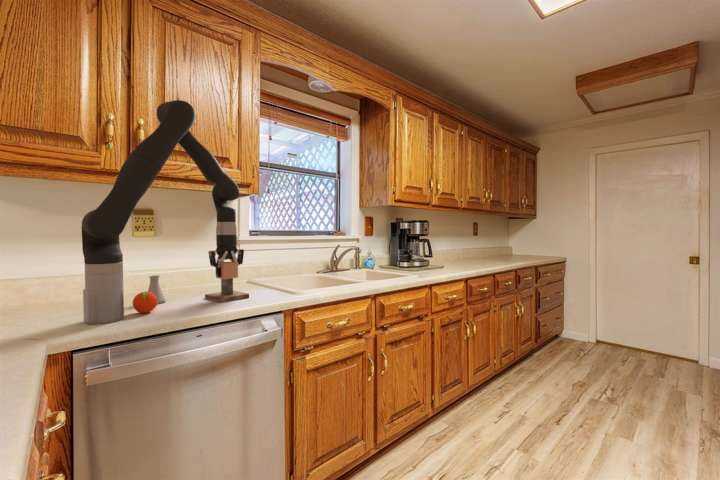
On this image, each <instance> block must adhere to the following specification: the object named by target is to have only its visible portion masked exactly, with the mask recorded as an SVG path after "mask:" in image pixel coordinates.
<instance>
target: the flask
mask: <svg viewBox="0 0 720 480" xmlns="http://www.w3.org/2000/svg"><path fill="white" fill-rule="evenodd" d="M147 292H151V293H153V294H154V295H155V296H156V297H157V305H159V304H162V303H166V302H167V299H166V297H165V295H164V292H163V290H162V287H161V285H160V275H157V274H156V275H149V286H148V290H147Z"/></svg>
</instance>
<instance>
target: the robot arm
mask: <svg viewBox="0 0 720 480" xmlns="http://www.w3.org/2000/svg"><path fill="white" fill-rule="evenodd" d="M156 118H157V120H158V122H159V125H158V126H157V128H156V129H154V131H153V132H152V133H151V134H150V135H148V136H147V137H146V138H145V139H143V140H142V141H141V142H140V143H139V144H138V145H136V146H135V148H134V149H133V150H132V151H131V152H130V154H129V155H128V157H127V158H126V159H125V160H124V162H123V164H122V165H121V168H120V169H119V172H118V174H117V177H116V179H115V181H114V184H113V187H112V189H111V191H110V192H109V193H108V194H107V196H106V197H105V198H104V200H103V201H102V202H101V203H100V204H99V205H98V207H96V208H95V209H93V210H89V212H87V213H86V214H85V215H84V216H83V218H82V221H81V244H82V248H81V249H82V254H83V259H84V261H83V262H84V289H82V295H83V296H82V297H83V298H82V299H83V300H82V301H83V322H84V323H86V324H88V325H98V324H99V325H100V324H109V323H114V322H119V321H120V320H123V319H124V318H125V309H124V308H125V307H124V306H125V304H124V303H125V301H124V300H125V299H124V298H125V297H124V294H125V293H124V259H123V258H124V257H123V256H124V255H123V251H122V250H121V245H120V235H121V234H122V233H123V232H124V230H125V228H126V226H127V224H128V221H129V220H130V218H131V215H132V213H133V211H134V209H135V208H136V206H137V204H138V203H139V201H140V200H141V199H142V197H143V196H144V195H145V194H146V192H147V191H148V190H149V188H150V187H151V186H152V184H153V183H154V182H155V180H156V179H157V177H158V176H159V174H160V173H161V171H162V170H163V167H164V165H165V164H166V163H167V161H168V159H169V158H170V156H171V154H172V153H173V151H174V149H175V148H176V146H177V145H180V146H181V148H182V149H183V150H184V151H185V152H186V153H187V155H188V156H189V157H190V159H191V160H192V161H193V163H194V164H195V166H196V167H197V168H198V169H199V172H200V173H201V174H202V175H203V177H204V178H205V180H206V181H208V182H209V183H212V184H214V186H213V187H212V189H211V191H212V192H211V195H212V201H213V204H214V208H215V211H216V226H215V227H216V228H215V233H216V234H215V235H216V236H215V243H216V249H215V250H214V249H213V250H209V251H208V257H209V258H208V259H209V264H210V266H211V267H213V268H215V277H216V276H217V277H221V268H220V267H221V263H223V262H225V260H226V261H227V260H229V262H238V266H240V265H242V264H243V262H244V256H245V255H244V254H245V249H242V248H240V249H238V248H237V245H238V242H237V241H238V237H237V235H238V234H237V233H238V232H237V229H238V227H237V216H236V215H237V214H236V209H235V208H234V207H231V206H230V204H229V202H230V201H235V200H237V199H238V198H239V196H240V188H239V186H238V184H237V182H236V181H235V180H234V179H233V178H232V177H231V176H230V175H228V174H227V172H226V171H224V169H223V168H222V166H221V165H220V163H219V162H218V161H217V159H216V157H215V156H214V155H213V153H212V152H211V151H209V149H208V148H206V146H204V145H203V144H202V143H201V142H200V141H199V140H198V139H197V138H196V137H195V136H194V134H193V133H192V131H191V130H190V129H191V128H192V126H193V125H194V124H195V121H196V112H195V109H194V107H193V105H191V104H190V103H189V102H187V101H185V100H181V99H180V100H179V99H178V100H177V99H176V100H170V101H166V102H162V103H160V104H159V105H158V107H157V108H156ZM236 254H237V256H236ZM216 255H217V258H216Z"/></svg>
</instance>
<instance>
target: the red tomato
mask: <svg viewBox="0 0 720 480" xmlns="http://www.w3.org/2000/svg"><path fill="white" fill-rule="evenodd" d="M157 305H158V304H157V297H156V296H155V295H154V294H153V293H151V292H148V291H142V292H139V293H138V294H136V295H135V296H134V297H133V300H132V307H133V309H134V310H135V311H136V312H138V313H141V314H147V313H150V312H152V311H154V310H155V308H156V307H157Z"/></svg>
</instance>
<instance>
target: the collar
mask: <svg viewBox="0 0 720 480" xmlns="http://www.w3.org/2000/svg"><path fill="white" fill-rule="evenodd" d="M220 268H221V277H217V276H216V275H215V279H220V280H221V279H230V278H233V279H238V278H239V265H238V262H231V261H224V262H223V263H221V267H220Z"/></svg>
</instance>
